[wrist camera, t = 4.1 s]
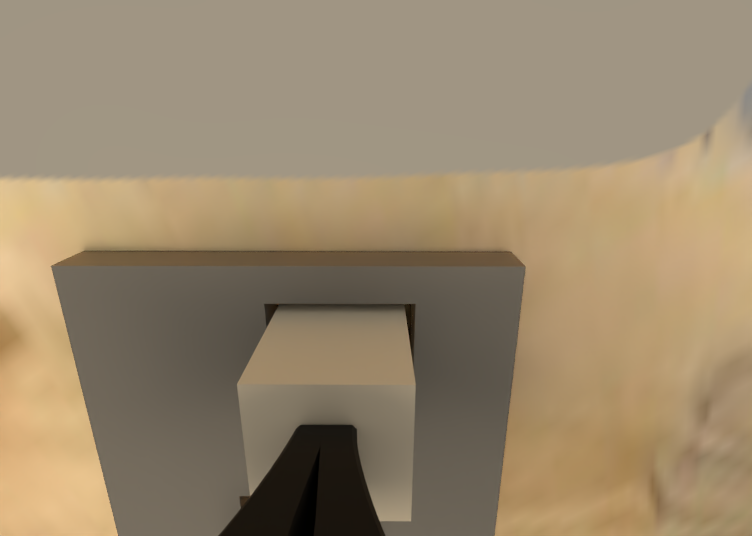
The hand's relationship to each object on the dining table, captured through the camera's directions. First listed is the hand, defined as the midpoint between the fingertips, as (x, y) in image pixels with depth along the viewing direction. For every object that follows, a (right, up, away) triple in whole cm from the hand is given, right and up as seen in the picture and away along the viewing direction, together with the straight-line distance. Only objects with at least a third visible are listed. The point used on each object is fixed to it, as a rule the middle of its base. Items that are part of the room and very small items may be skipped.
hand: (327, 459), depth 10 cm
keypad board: (-2, -5, +8) cm, 9 cm away
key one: (0, +2, +5) cm, 5 cm away
